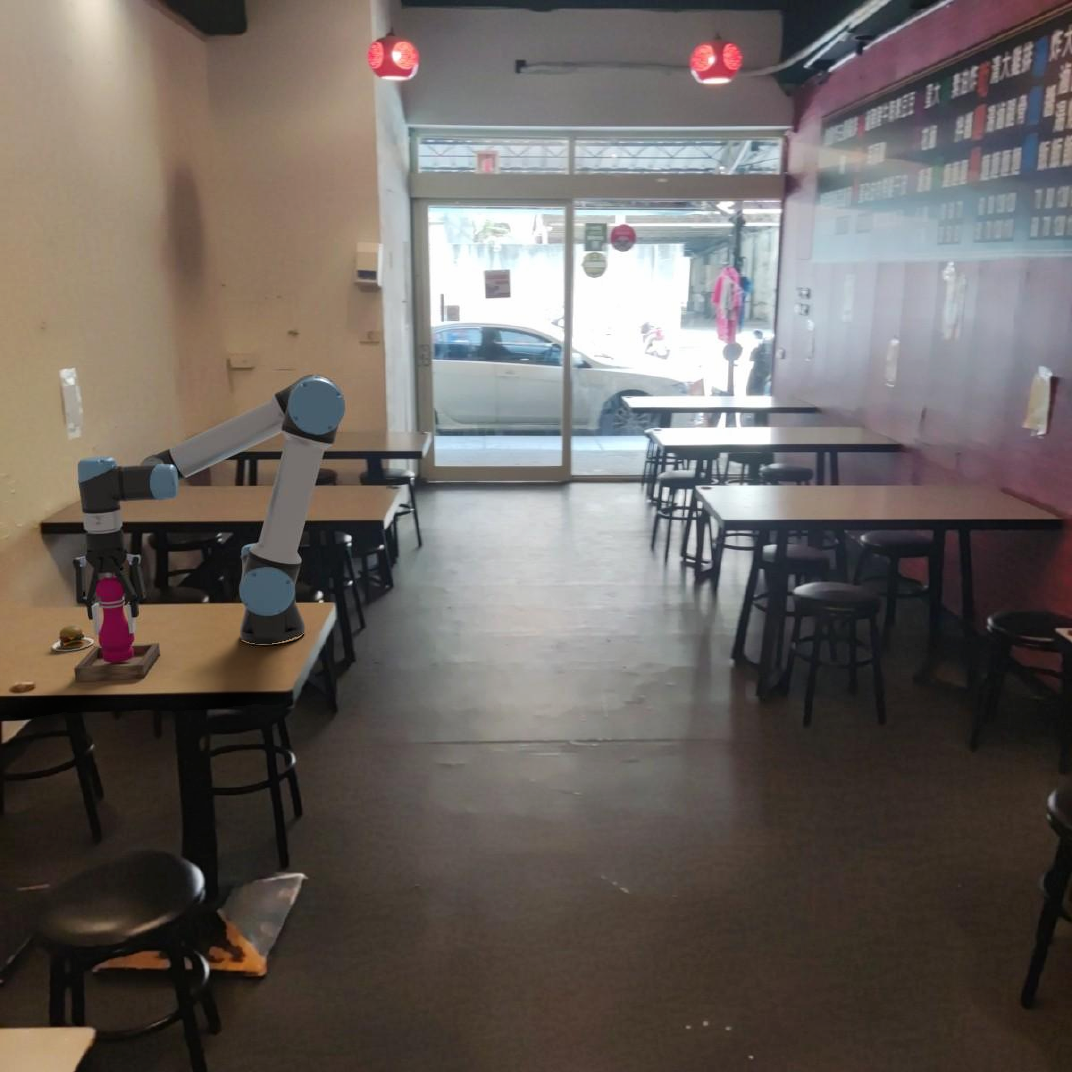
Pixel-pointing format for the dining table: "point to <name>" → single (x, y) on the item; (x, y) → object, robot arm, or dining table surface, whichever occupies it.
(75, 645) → the hamburger
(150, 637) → the dining table surface
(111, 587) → the pepper mill
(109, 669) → the walnut tray
